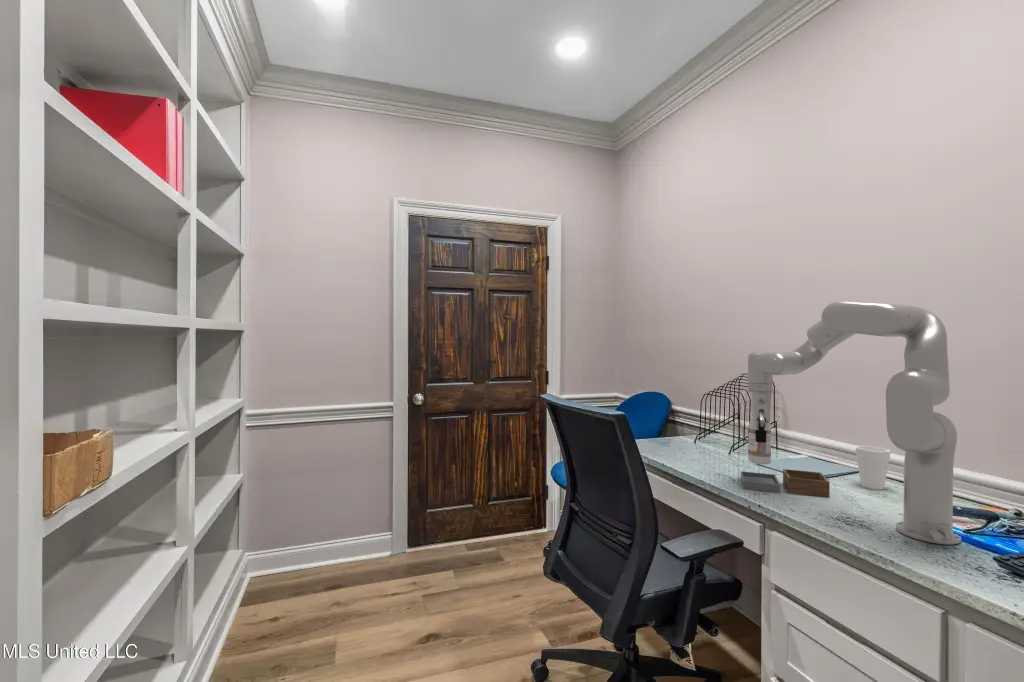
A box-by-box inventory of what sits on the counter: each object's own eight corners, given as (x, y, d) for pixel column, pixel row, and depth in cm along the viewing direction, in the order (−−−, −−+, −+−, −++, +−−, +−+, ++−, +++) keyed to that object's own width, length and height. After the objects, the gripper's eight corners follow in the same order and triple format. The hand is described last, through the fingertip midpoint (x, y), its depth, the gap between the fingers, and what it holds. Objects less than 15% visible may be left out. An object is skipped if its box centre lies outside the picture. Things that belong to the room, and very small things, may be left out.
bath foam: (743, 460, 165) (743, 402, 165) (759, 458, 167) (759, 402, 167) (759, 465, 159) (759, 405, 159) (775, 463, 161) (776, 404, 161)
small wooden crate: (829, 497, 151) (829, 481, 151) (788, 493, 155) (788, 477, 155) (821, 487, 161) (821, 472, 161) (782, 483, 165) (783, 469, 165)
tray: (780, 493, 155) (780, 485, 155) (743, 488, 159) (743, 481, 159) (775, 481, 167) (775, 474, 167) (740, 478, 171) (740, 471, 171)
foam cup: (896, 492, 156) (896, 452, 156) (864, 490, 158) (864, 451, 158) (879, 483, 166) (880, 446, 165) (850, 481, 167) (850, 445, 167)
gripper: (776, 391, 153) (775, 446, 154) (769, 386, 170) (768, 435, 170) (750, 390, 156) (749, 444, 156) (745, 385, 172) (745, 434, 173)
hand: (759, 439), depth 163 cm, fingers closed on bath foam, 7 cm apart
